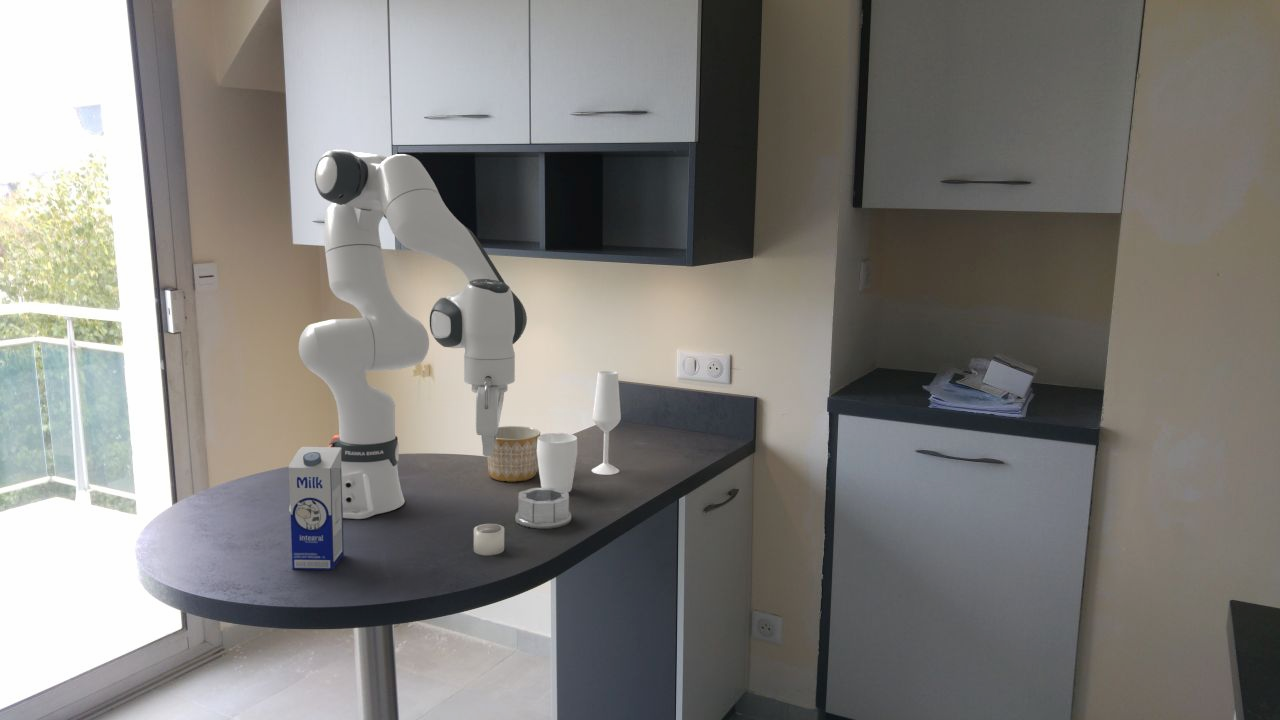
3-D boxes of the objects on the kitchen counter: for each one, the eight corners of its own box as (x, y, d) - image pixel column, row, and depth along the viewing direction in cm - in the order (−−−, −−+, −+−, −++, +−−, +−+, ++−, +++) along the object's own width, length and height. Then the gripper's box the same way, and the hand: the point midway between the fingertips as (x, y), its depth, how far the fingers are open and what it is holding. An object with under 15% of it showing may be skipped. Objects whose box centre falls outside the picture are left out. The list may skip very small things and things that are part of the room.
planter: (531, 486, 204) (531, 441, 202) (477, 481, 206) (477, 437, 204) (545, 470, 216) (546, 427, 214) (495, 466, 218) (495, 424, 216)
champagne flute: (609, 476, 213) (611, 376, 209) (585, 471, 216) (587, 372, 212) (624, 469, 218) (627, 372, 214) (601, 465, 222) (603, 368, 218)
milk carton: (344, 555, 161) (342, 446, 157) (333, 570, 154) (330, 456, 151) (304, 554, 160) (300, 445, 157) (291, 569, 154) (287, 455, 151)
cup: (570, 498, 196) (571, 444, 194) (530, 494, 198) (531, 441, 196) (581, 486, 205) (582, 434, 203) (543, 482, 206) (543, 431, 205)
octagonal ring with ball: (514, 529, 176) (514, 504, 175) (516, 510, 187) (516, 487, 186) (572, 528, 177) (572, 504, 177) (570, 509, 188) (570, 486, 188)
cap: (472, 555, 162) (472, 533, 162) (474, 544, 168) (474, 523, 167) (503, 555, 163) (503, 533, 162) (504, 544, 169) (504, 522, 168)
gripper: (505, 383, 150) (505, 463, 152) (509, 362, 170) (509, 434, 173) (466, 383, 150) (467, 463, 152) (475, 362, 170) (475, 434, 172)
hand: (489, 447), depth 162 cm, fingers open, 8 cm apart
